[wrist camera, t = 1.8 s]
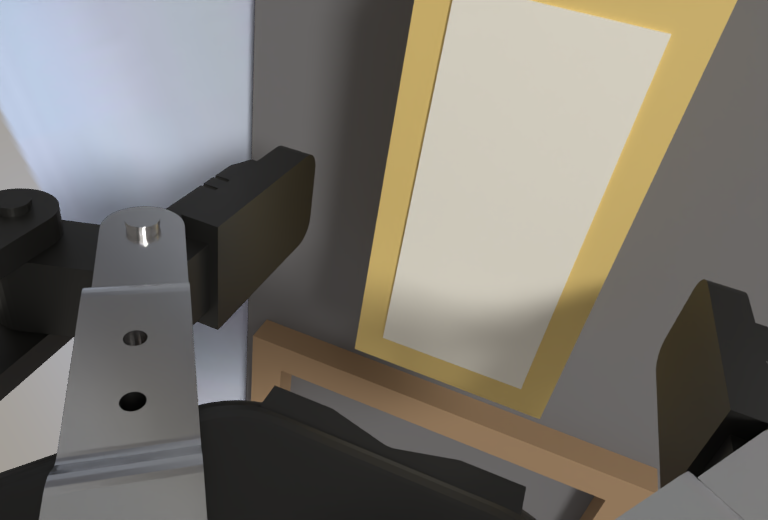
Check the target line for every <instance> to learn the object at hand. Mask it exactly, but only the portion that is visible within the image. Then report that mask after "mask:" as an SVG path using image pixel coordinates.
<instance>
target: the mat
mask: <svg viewBox="0 0 768 520" xmlns="http://www.w3.org/2000/svg"><path fill="white" fill-rule="evenodd" d="M413 5H414V0H255V30H254V74H253V117H252V159H253V160H256V161H258V160H259V159H261V158H262V157H263V156H265V155H266V154H268V153H269V152H271V151H272V150H273V149H275V148H276V147H278V146H285V147H288V148H291V149H294V150H298V151H301V152H304V153H307V154H310V155H313V156H314V158H315V164H316V167H315V177H314V187H313V197H312V206H311V216H310V222H309V226H308V230H307V232H306V235H305V237H304V239H303V240H302V242H301V244H300V245H299V246H298V247H297V248H296V249H295V250H294V251H293V252H292V253H291V254H290V255H289V256H288V257H287V258H286V259H285V260H284V262H283V263H282V264H281V265H280V266H279V267H278V268H277V269H276V270H275V271H274V272H273V273H272V274H271V275H270V276H269V277H268V278H267V279H266V280H265V281H264V282H263V283H262V284H261V285H260V287H259V288H258V289H257V290H256V291H255V292H254V293H253V294H252V295H251V296H250V297H249V298H248V336H247V380H246V401H256V402H263V401H264V399H265V398H266V397H267V395H268V394H269V392H270V391H271V390H272V388H273V387H274V386H278V387H280V388H283V389H285V390H288V391H290V392H293V393H295V394H298V395H300V396H303V397H305V398H308V399H310V400H313V401H315V402H317V403H320V404H322V405H325V406H327V407H330V408H332V409H334V410H335V411H337V412H338V413H340V414H341V415H343V416H344V417H345V418H347V419H348V420H350V421H351V422H353V423H354V424H356V425H357V426H358V427H360V428H361V429H363V430H364V431H366V432H367V433H369V434H370V435H371V436H373V437H374V438H376V439H377V440H379V441H380V442H382V443H383V444H385V445H386V446H389V447H391V448H395V449H400V450H406V451H411V452H417V453H423V454H428V455H434V456H439V457H445V458H451V459H456V460H461V461H463V462H466V463H468V464H471V465H473V466H476V467H478V468H481V469H483V470H486V471H488V472H491V473H493V474H496V475H498V476H501V477H503V478H506V479H508V480H510V481H513V482H515V483H518V484H520V485H523V486H525V487H526V491H525V496H524V502H523V507H522V509H523V510H525V511H526V512H527V513H529V514H530V515H532V516H533V517H534V518H535V519H537V520H615V519H616V518H618V517H619V516H621V515H622V514H624V513H625V512H627V511H628V510H630V509H631V508H633V507H634V506H636V505H637V504H639V503H640V502H642V501H643V500H645V499H646V498H648V497H649V496H650V495H652V494H653V493H655V492H656V491H658V490H659V489H661V488H660V463H659V438H658V413H657V388H656V364H657V359H658V355H659V352H660V349H661V346H662V344H663V342H664V340H665V338H666V336H667V334H668V333H669V331H670V329H671V328H672V326H673V324H674V322H675V321H676V319H677V317H678V315H679V314H680V312H681V310H682V309H683V307H684V305H685V303H686V302H687V300H688V298H689V296H690V295H691V293H692V291H693V290H694V288H695V287H696V285H697V284H698V283H699V282H700V281H701V280H703V279H705V280H709V281H712V282H715V283H718V284H721V285H724V286H728V287H731V288H734V289H737V290H740V291H744V292H746V293H747V295H748V297H749V301H750V305H751V308H752V312H753V315H754V319H755V323H758V324H761V325H764V326H767V327H768V0H737V2H736V4H735V7H734V9H733V11H732V13H731V15H730V17H729V19H728V21H727V24H726V26H725V28H724V30H723V32H722V34H721V36H720V38H719V40H718V43H717V45H716V47H715V49H714V51H713V53H712V55H711V57H710V60H709V62H708V64H707V66H706V68H705V70H704V72H703V74H702V76H701V79H700V81H699V83H698V85H697V87H696V89H695V91H694V93H693V96H692V98H691V100H690V102H689V104H688V106H687V108H686V110H685V112H684V115H683V117H682V119H681V121H680V123H679V125H678V127H677V129H676V132H675V134H674V136H673V138H672V140H671V142H670V144H669V146H668V148H667V151H666V153H665V155H664V157H663V159H662V161H661V163H660V165H659V168H658V170H657V172H656V174H655V176H654V178H653V180H652V182H651V184H650V187H649V189H648V191H647V193H646V195H645V197H644V199H643V201H642V204H641V206H640V208H639V210H638V212H637V214H636V216H635V218H634V220H633V223H632V225H631V227H630V229H629V231H628V233H627V235H626V237H625V240H624V242H623V244H622V246H621V248H620V250H619V252H618V254H617V257H616V259H615V261H614V263H613V265H612V267H611V269H610V271H609V273H608V276H607V278H606V280H605V282H604V284H603V286H602V288H601V290H600V293H599V295H598V297H597V299H596V301H595V303H594V305H593V307H592V309H591V312H590V314H589V316H588V318H587V320H586V322H585V324H584V326H583V329H582V331H581V333H580V335H579V337H578V339H577V341H576V343H575V345H574V348H573V350H572V352H571V354H570V356H569V358H568V360H567V362H566V365H565V367H564V369H563V371H562V373H561V375H560V377H559V379H558V381H557V384H556V386H555V388H554V390H553V392H552V394H551V396H550V398H549V401H548V403H547V405H546V407H545V409H544V411H543V413H542V415H541V417H540V419H538V418H535V417H532V416H530V415H527V414H525V413H522V412H519V411H517V410H514V409H511V408H509V407H506V406H504V405H501V404H498V403H496V402H493V401H490V400H488V399H485V398H483V397H480V396H477V395H475V394H472V393H469V392H467V391H464V390H462V389H459V388H456V387H454V386H451V385H448V384H446V383H443V382H441V381H438V380H435V379H433V378H430V377H427V376H425V375H422V374H420V373H417V372H414V371H412V370H409V369H406V368H404V367H401V366H399V365H396V364H393V363H391V362H388V361H385V360H383V359H380V358H378V357H375V356H372V355H370V354H367V353H364V352H362V351H359V350H357V349H355V344H356V338H357V332H358V327H359V321H360V315H361V309H362V303H363V297H364V292H365V286H366V280H367V274H368V268H369V262H370V256H371V251H372V245H373V239H374V233H375V227H376V221H377V216H378V210H379V204H380V198H381V192H382V186H383V180H384V175H385V169H386V163H387V157H388V151H389V145H390V140H391V134H392V128H393V122H394V116H395V110H396V105H397V99H398V93H399V87H400V81H401V75H402V69H403V64H404V58H405V52H406V46H407V40H408V34H409V29H410V23H411V17H412V11H413Z"/></svg>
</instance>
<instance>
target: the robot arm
mask: <svg viewBox="0 0 768 520" xmlns="http://www.w3.org/2000/svg"><path fill="white" fill-rule="evenodd" d="M315 167H316V164H315V158H314V156H313V155H310V154H307V153H304V152H301V151H298V150H294V149H291V148H288V147H285V146H278V147H276V148H275V149H273V150H272V151H271V152H269V153H268V154H266V155H265V156H263V157H262V158H261V159H259V160H258V161H256V160H253V159H252V160H248V161H245V162H241V163H238V164H234V165H231V166H229V167H228V168H226V169H225V170H223V171H222V172H220V173H219V174H217V175H216V177H215V178H214V177H213V178H211V179H210V180H208V181H207V182H205V183H204V185H203V186H199V187H198V188H196V189H195V190H193V191H192V192H190V193H189V194H187V195H186V196H184V197H183V198H182V199H180V200H179V201H177V202H176V203H174V204H173V205H171V206H170V207H168V208H167V209H163V208H158V207H151V206H140V207H131V208H126V209H122V210H119V211H116V212H114V213H112V214H110V215H109V216H107V217H106V218H105V219H104V220H103V221H102V223H101V224H100V225H97V224H89V223H81V222H74V221H66V220H62V219H61V214H60V208H59V202H58V201H57V199H56V198H55V197H54V196H52V195H50V194H49V193H46V192H43V191H39V190H34V189H7V190H1V191H0V401H1V400H2V399H3V398H4V397H5V396H6V395H8V393H10V392H11V391H12V390H13V389H14V388H15V387H17V386H18V385H19V384H20V383H21V382H22V381H24V380H25V379H26V378H27V377H28V376H29V375H30V374H32V373H33V372H34V371H35V370H36V369H37V368H38V367H40V366H41V365H42V364H43V363H44V362H45V361H46V360H47V359H49V358H50V357H51V356H52V355H53V354H54V353H56V352H57V351H58V350H59V349H60V348H61V347H62V346H64V345H65V344H66V343H67V342H68V341H69V340H70V339H72V338H73V337H75V338H74V345H73V351H72V358H71V364H70V371H69V378H68V384H67V391H66V398H65V404H64V411H63V418H62V424H61V431H60V437H59V444H58V451H57V453H56V454H54V455H51V456H48V457H45V458H42V459H39V460H36V461H33V462H31V463H28V464H25V465H22V466H19V467H16V468H13V469H10V470H7V471H4V472H2V473H0V520H537V519H535V518H534V517H533V516H532V515H530V514H529V513H527V512H526V511H525V510H523V509H522V507H523V502H524V496H525V491H526V487H525V486H523V485H520V484H518V483H515V482H513V481H510V480H508V479H506V478H503V477H501V476H498V475H496V474H493V473H491V472H488V471H486V470H483V469H481V468H478V467H476V466H473V465H471V464H468V463H466V462H463V461H461V460H456V459H451V458H445V457H439V456H434V455H428V454H423V453H417V452H411V451H406V450H400V449H395V448H391V447H389V446H386V445H385V444H383V443H382V442H380V441H379V440H377V439H376V438H374V437H373V436H371V435H370V434H369V433H367V432H366V431H364V430H363V429H361V428H360V427H358V426H357V425H356V424H354V423H353V422H351V421H350V420H348V419H347V418H345V417H344V416H343V415H341V414H340V413H338V412H337V411H335V410H334V409H332V408H330V407H327V406H325V405H322V404H320V403H317V402H315V401H313V400H310V399H308V398H305V397H303V396H300V395H298V394H295V393H293V392H290V391H288V390H285V389H283V388H280V387H278V386H274V387H273V388H272V390H271V391H270V392H269V394H268V395H267V397H266V398H265V399H264V401H263V402H256V401H243V400H232V401H219V402H211V403H206V404H202V405H198V394H197V380H196V366H195V352H194V338H193V325H194V324H195V323H196V322H200V323H202V324H205V325H207V326H210V327H212V328H215V329H217V330H218V329H219V328H220V327H221V326H222V325H223V324H224V323H225V322H226V321H227V320H228V319H229V318H230V317H231V316H232V315H233V314H234V313H235V312H236V310H237V309H238V308H239V307H240V306H241V305H242V304H243V303H244V302H245V301H246V300H247V299H248V298H249V297H250V296H251V295H252V294H253V293H254V292H255V291H256V290H257V289H258V288H259V287H260V285H261V284H262V283H263V282H264V281H265V280H266V279H267V278H268V277H269V276H270V275H271V274H272V273H273V272H274V271H275V270H276V269H277V268H278V267H279V266H280V265H281V264H282V263H283V262H284V260H285V259H286V258H287V257H288V256H289V255H290V254H291V253H292V252H293V251H294V250H295V249H296V248H297V247H298V246H299V245H300V244H301V242H302V240H303V239H304V237H305V235H306V232H307V230H308V226H309V222H310V216H311V206H312V197H313V187H314V177H315ZM656 388H657V413H658V438H659V463H660V488H661V489H659V490H658V491H656V492H655V493H653V494H652V495H650V496H649V497H648V498H646V499H645V500H643V501H642V502H640V503H639V504H637V505H636V506H634V507H633V508H631V509H630V510H628V511H627V512H625V513H624V514H622V515H621V516H619V517H618V518H616V519H615V520H768V327H767V326H764V325H761V324H758V323H755V319H754V315H753V312H752V308H751V305H750V301H749V297H748V295H747V293H746V292H744V291H740V290H737V289H734V288H731V287H728V286H724V285H721V284H718V283H715V282H712V281H709V280H705V279H703V280H701V281H700V282H699V283H698V284H697V285H696V287H695V288H694V290H693V291H692V293H691V295H690V296H689V298H688V300H687V302H686V303H685V305H684V307H683V309H682V310H681V312H680V314H679V315H678V317H677V319H676V321H675V322H674V324H673V326H672V328H671V329H670V331H669V333H668V334H667V336H666V338H665V340H664V342H663V344H662V346H661V349H660V352H659V355H658V359H657V364H656Z"/></svg>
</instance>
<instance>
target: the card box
mask: <svg viewBox="0 0 768 520" xmlns="http://www.w3.org/2000/svg"><path fill="white" fill-rule="evenodd" d="M736 2H737V0H414V5H413V11H412V17H411V23H410V29H409V34H408V40H407V46H406V52H405V58H404V64H403V69H402V75H401V81H400V87H399V93H398V99H397V105H396V110H395V116H394V122H393V128H392V134H391V140H390V145H389V151H388V157H387V163H386V169H385V175H384V180H383V186H382V192H381V198H380V204H379V210H378V216H377V221H376V227H375V233H374V239H373V245H372V251H371V256H370V262H369V268H368V274H367V280H366V286H365V292H364V297H363V303H362V309H361V315H360V321H359V327H358V332H357V338H356V344H355V349H357V350H359V351H362V352H364V353H367V354H370V355H372V356H375V357H378V358H380V359H383V360H385V361H388V362H391V363H393V364H396V365H399V366H401V367H404V368H406V369H409V370H412V371H414V372H417V373H420V374H422V375H425V376H427V377H430V378H433V379H435V380H438V381H441V382H443V383H446V384H448V385H451V386H454V387H456V388H459V389H462V390H464V391H467V392H469V393H472V394H475V395H477V396H480V397H483V398H485V399H488V400H490V401H493V402H496V403H498V404H501V405H504V406H506V407H509V408H511V409H514V410H517V411H519V412H522V413H525V414H527V415H530V416H532V417H535V418H538V419H540V417H541V415H542V413H543V411H544V409H545V407H546V405H547V403H548V401H549V398H550V396H551V394H552V392H553V390H554V388H555V386H556V384H557V381H558V379H559V377H560V375H561V373H562V371H563V369H564V367H565V365H566V362H567V360H568V358H569V356H570V354H571V352H572V350H573V348H574V345H575V343H576V341H577V339H578V337H579V335H580V333H581V331H582V329H583V326H584V324H585V322H586V320H587V318H588V316H589V314H590V312H591V309H592V307H593V305H594V303H595V301H596V299H597V297H598V295H599V293H600V290H601V288H602V286H603V284H604V282H605V280H606V278H607V276H608V273H609V271H610V269H611V267H612V265H613V263H614V261H615V259H616V257H617V254H618V252H619V250H620V248H621V246H622V244H623V242H624V240H625V237H626V235H627V233H628V231H629V229H630V227H631V225H632V223H633V220H634V218H635V216H636V214H637V212H638V210H639V208H640V206H641V204H642V201H643V199H644V197H645V195H646V193H647V191H648V189H649V187H650V184H651V182H652V180H653V178H654V176H655V174H656V172H657V170H658V168H659V165H660V163H661V161H662V159H663V157H664V155H665V153H666V151H667V148H668V146H669V144H670V142H671V140H672V138H673V136H674V134H675V132H676V129H677V127H678V125H679V123H680V121H681V119H682V117H683V115H684V112H685V110H686V108H687V106H688V104H689V102H690V100H691V98H692V96H693V93H694V91H695V89H696V87H697V85H698V83H699V81H700V79H701V76H702V74H703V72H704V70H705V68H706V66H707V64H708V62H709V60H710V57H711V55H712V53H713V51H714V49H715V47H716V45H717V43H718V40H719V38H720V36H721V34H722V32H723V30H724V28H725V26H726V24H727V21H728V19H729V17H730V15H731V13H732V11H733V9H734V7H735V4H736Z"/></svg>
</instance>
